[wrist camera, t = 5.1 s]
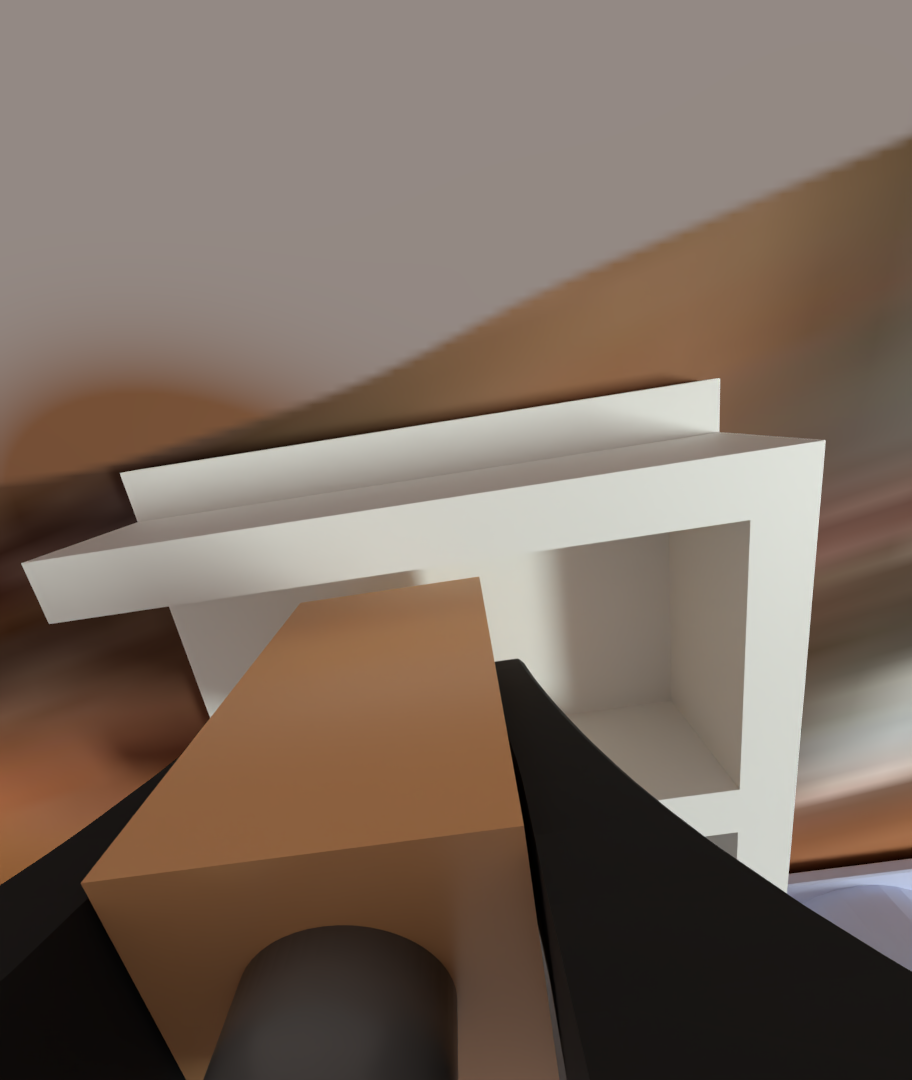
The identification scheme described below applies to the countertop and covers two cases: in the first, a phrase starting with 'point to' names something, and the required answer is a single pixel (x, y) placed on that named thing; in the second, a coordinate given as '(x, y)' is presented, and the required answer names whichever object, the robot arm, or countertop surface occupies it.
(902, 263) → the countertop surface
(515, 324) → the countertop surface
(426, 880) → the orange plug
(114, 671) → the countertop surface
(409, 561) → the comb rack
